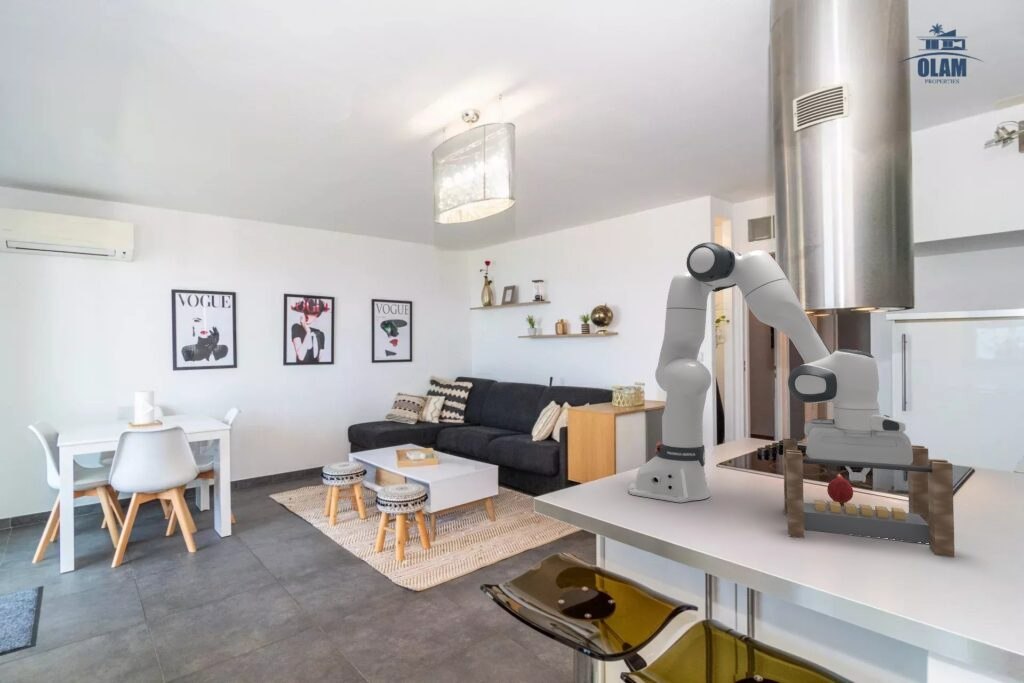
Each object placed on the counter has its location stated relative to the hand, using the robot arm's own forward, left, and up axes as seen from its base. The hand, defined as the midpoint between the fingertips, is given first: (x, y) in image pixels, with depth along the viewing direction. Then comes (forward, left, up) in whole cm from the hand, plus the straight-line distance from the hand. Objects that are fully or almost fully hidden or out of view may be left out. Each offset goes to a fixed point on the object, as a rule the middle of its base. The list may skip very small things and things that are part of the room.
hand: (857, 481), depth 118 cm
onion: (-1, +20, -11) cm, 23 cm away
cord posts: (0, 0, -11) cm, 11 cm away
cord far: (0, +8, +5) cm, 9 cm away
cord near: (0, -8, +5) cm, 9 cm away
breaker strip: (0, 0, -11) cm, 11 cm away
